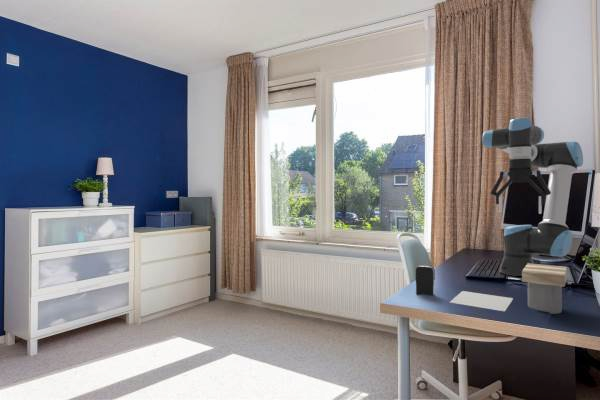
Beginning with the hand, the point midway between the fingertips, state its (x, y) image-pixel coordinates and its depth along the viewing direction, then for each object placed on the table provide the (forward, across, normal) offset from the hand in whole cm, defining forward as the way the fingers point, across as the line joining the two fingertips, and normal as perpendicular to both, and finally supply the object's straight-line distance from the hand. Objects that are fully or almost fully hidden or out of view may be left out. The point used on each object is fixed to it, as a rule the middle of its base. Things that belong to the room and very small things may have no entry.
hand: (519, 213), depth 153 cm
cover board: (+21, +10, -16) cm, 29 cm away
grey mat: (+31, -10, -21) cm, 39 cm away
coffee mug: (+32, +9, -16) cm, 37 cm away
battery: (+31, -30, -23) cm, 49 cm away
